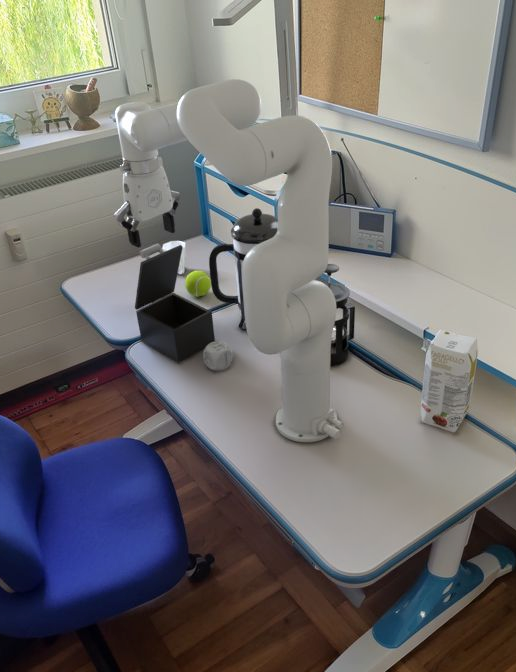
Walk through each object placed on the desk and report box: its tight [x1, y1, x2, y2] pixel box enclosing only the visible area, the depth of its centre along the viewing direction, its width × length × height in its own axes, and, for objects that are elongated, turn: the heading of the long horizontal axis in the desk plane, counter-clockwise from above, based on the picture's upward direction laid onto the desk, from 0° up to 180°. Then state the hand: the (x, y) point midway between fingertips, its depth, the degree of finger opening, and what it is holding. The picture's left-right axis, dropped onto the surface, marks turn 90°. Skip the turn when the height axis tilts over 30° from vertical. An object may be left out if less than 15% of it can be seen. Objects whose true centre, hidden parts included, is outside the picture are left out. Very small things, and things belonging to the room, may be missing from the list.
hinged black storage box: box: [135, 292, 216, 364], centre depth 160 cm, size 15×12×9 cm
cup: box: [162, 240, 187, 275], centre depth 191 cm, size 7×10×8 cm
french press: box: [323, 263, 356, 368], centre depth 148 cm, size 12×9×23 cm
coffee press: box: [208, 207, 278, 331], centre depth 160 cm, size 17×16×30 cm
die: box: [202, 340, 234, 372], centre depth 152 cm, size 5×5×5 cm
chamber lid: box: [134, 243, 183, 311], centre depth 157 cm, size 15×12×5 cm
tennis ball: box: [184, 270, 212, 298], centre depth 180 cm, size 7×7×7 cm
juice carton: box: [420, 328, 479, 433], centre depth 128 cm, size 8×9×19 cm
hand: (153, 238), depth 150 cm, fingers open, 9 cm apart
